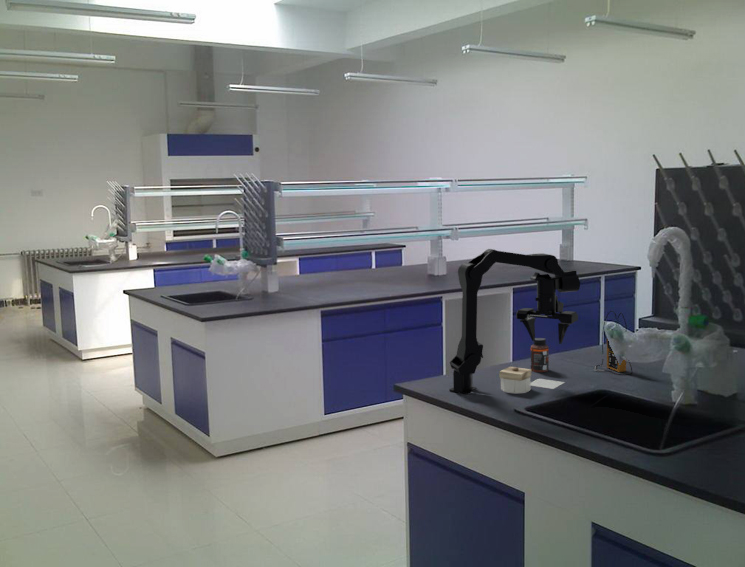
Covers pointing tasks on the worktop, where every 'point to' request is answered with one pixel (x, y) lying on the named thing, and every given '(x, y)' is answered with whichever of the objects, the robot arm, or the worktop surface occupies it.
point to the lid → (515, 373)
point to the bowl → (515, 385)
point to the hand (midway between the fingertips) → (546, 342)
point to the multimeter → (613, 356)
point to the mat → (546, 383)
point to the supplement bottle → (539, 355)
